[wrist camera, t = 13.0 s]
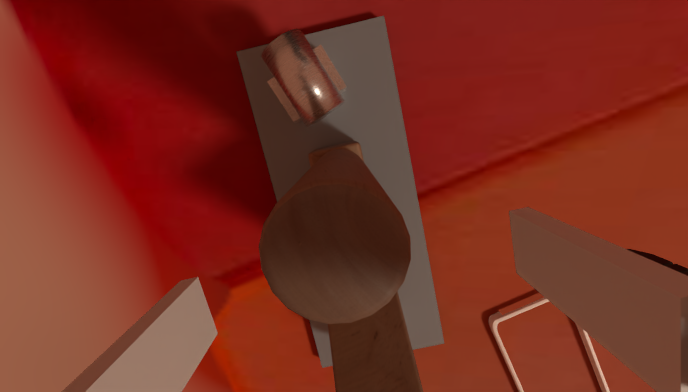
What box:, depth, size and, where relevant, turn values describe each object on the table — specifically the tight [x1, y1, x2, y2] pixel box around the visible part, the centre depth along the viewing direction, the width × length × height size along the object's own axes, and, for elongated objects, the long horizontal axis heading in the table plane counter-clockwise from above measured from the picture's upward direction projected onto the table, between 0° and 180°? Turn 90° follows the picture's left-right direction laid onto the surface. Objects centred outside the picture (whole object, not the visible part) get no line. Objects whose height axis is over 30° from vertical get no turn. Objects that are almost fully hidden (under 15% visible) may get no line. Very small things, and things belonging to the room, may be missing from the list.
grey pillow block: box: [261, 29, 347, 127], centre depth 21 cm, size 5×4×5 cm
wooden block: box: [259, 141, 423, 392], centre depth 17 cm, size 4×11×18 cm, turn 13°
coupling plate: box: [236, 16, 444, 368], centre depth 26 cm, size 27×11×1 cm, turn 13°
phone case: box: [489, 297, 610, 392], centre depth 29 cm, size 7×1×15 cm
